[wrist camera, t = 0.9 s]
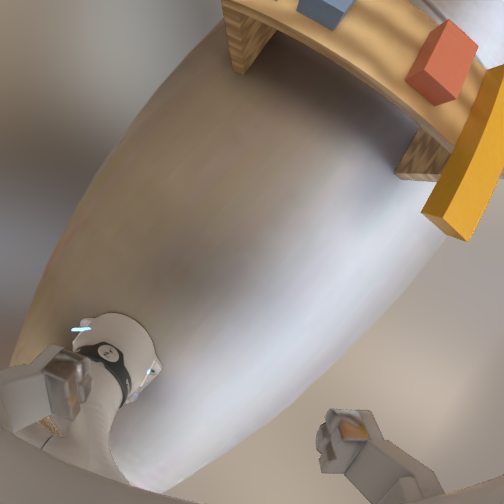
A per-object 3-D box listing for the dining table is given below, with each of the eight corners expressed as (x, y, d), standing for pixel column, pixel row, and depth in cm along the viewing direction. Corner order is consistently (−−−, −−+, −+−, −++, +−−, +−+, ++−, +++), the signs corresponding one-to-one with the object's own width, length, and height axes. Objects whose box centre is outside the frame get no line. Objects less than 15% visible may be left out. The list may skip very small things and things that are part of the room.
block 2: (434, 106, 24) (456, 99, 20) (403, 80, 24) (423, 69, 20) (457, 56, 23) (478, 46, 19) (430, 31, 22) (449, 18, 18)
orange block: (445, 234, 27) (468, 242, 23) (420, 212, 27) (442, 218, 23) (507, 93, 23) (528, 89, 19) (486, 70, 23) (507, 62, 19)
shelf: (401, 179, 49) (492, 188, 26) (233, 70, 45) (219, -5, 22) (429, 127, 47) (521, 111, 24) (270, 20, 43) (281, -67, 19)
